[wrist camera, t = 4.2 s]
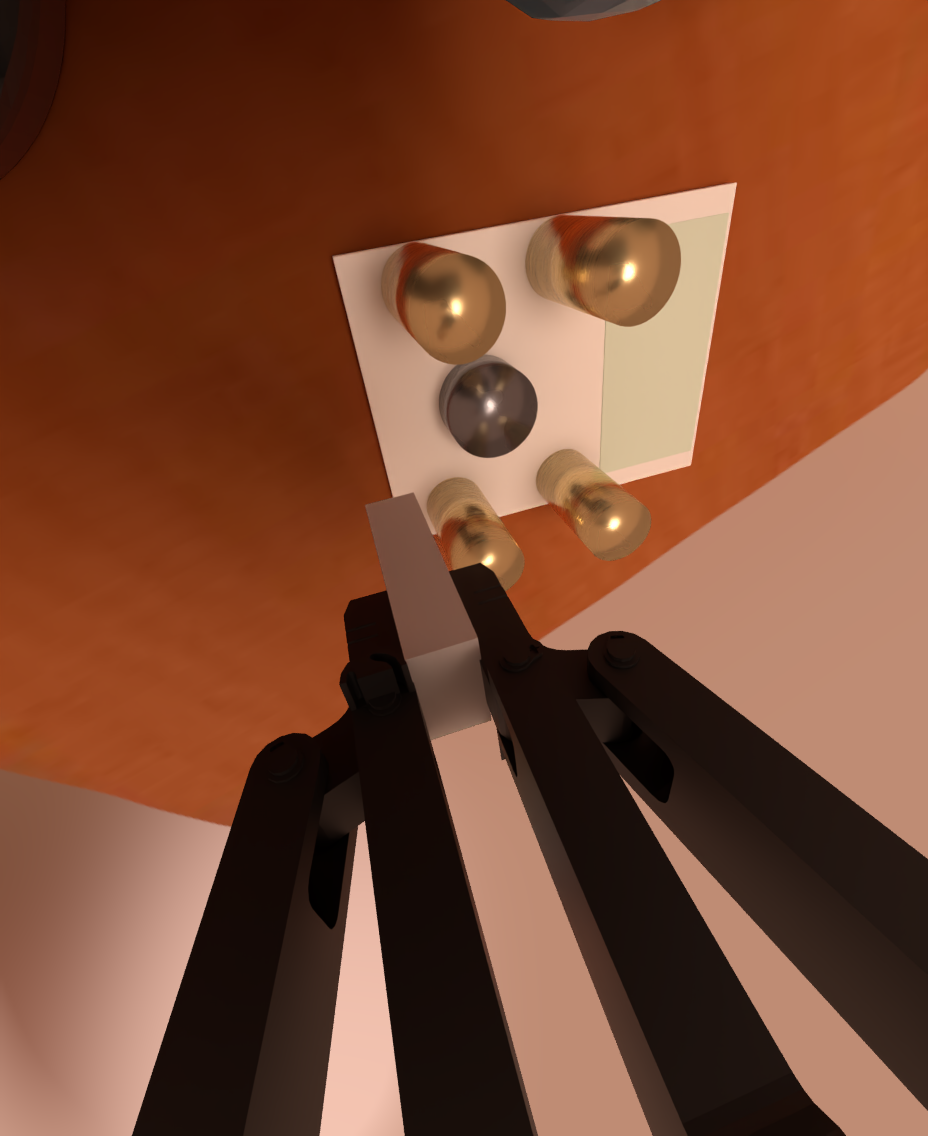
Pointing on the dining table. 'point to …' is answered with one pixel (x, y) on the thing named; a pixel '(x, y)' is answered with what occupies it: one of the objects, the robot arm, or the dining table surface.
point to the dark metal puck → (488, 406)
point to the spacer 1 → (444, 301)
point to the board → (550, 361)
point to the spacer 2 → (473, 530)
